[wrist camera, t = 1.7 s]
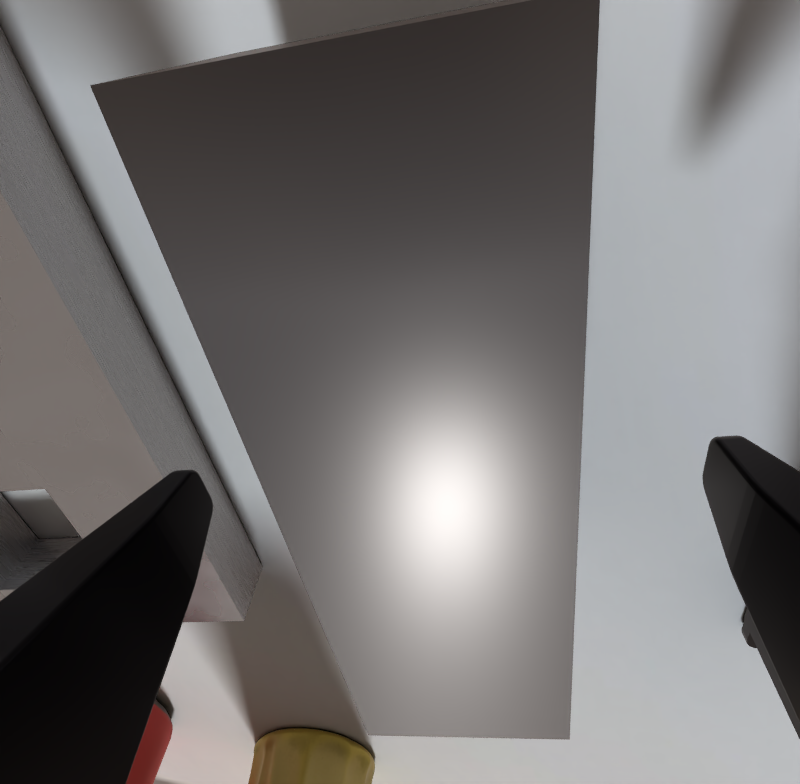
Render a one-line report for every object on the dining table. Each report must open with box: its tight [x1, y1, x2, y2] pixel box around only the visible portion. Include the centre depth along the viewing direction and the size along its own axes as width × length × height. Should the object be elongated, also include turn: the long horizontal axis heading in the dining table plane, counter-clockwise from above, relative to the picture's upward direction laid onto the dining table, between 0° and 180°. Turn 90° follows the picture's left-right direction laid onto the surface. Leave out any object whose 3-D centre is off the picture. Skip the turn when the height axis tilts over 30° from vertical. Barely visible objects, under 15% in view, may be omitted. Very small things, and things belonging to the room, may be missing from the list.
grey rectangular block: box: [90, 0, 600, 739], centre depth 11 cm, size 13×4×6 cm, turn 9°
